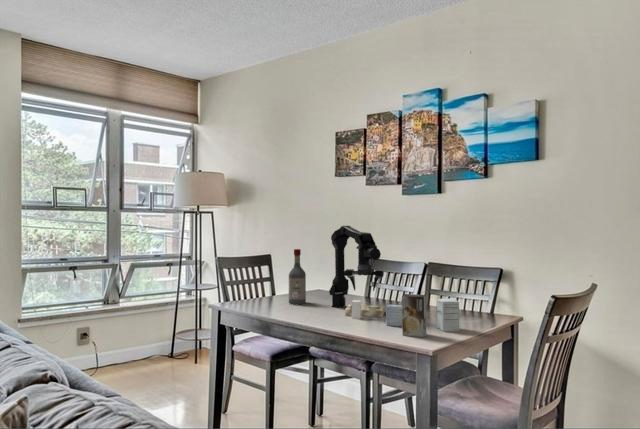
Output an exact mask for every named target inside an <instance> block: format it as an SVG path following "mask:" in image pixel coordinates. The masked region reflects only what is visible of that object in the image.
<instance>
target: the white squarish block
mask: <svg viewBox="0 0 640 429" xmlns="http://www.w3.org/2000/svg"><path fill="white" fill-rule="evenodd" d="M351 305H352V316H351V319H354V320H355V319H357V320H361V319H362V316H361V305H362V300H354V299H352V301H351Z"/></svg>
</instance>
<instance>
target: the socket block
mask: <svg viewBox="0 0 640 429" xmlns="http://www.w3.org/2000/svg"><path fill="white" fill-rule="evenodd" d="M344 314H345V315H344V316H346V317H347V316H348V317H352V304H348V305H347V307H346V308H345V312H344ZM384 314H385V305H372V304H371V305H368V304H366V305H365V304H361V317H370V318H371V317H372V318H374V317H376V318H383V317H384Z"/></svg>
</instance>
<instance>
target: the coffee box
mask: <svg viewBox="0 0 640 429" xmlns="http://www.w3.org/2000/svg"><path fill="white" fill-rule="evenodd" d="M401 305H402V326H401V329H402V336H405V337H406V336H407V337H416V338H417V337H419V338H426V335H427V334H428V331H427V295H426V294H413V293H404V294H402V296H401Z"/></svg>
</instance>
